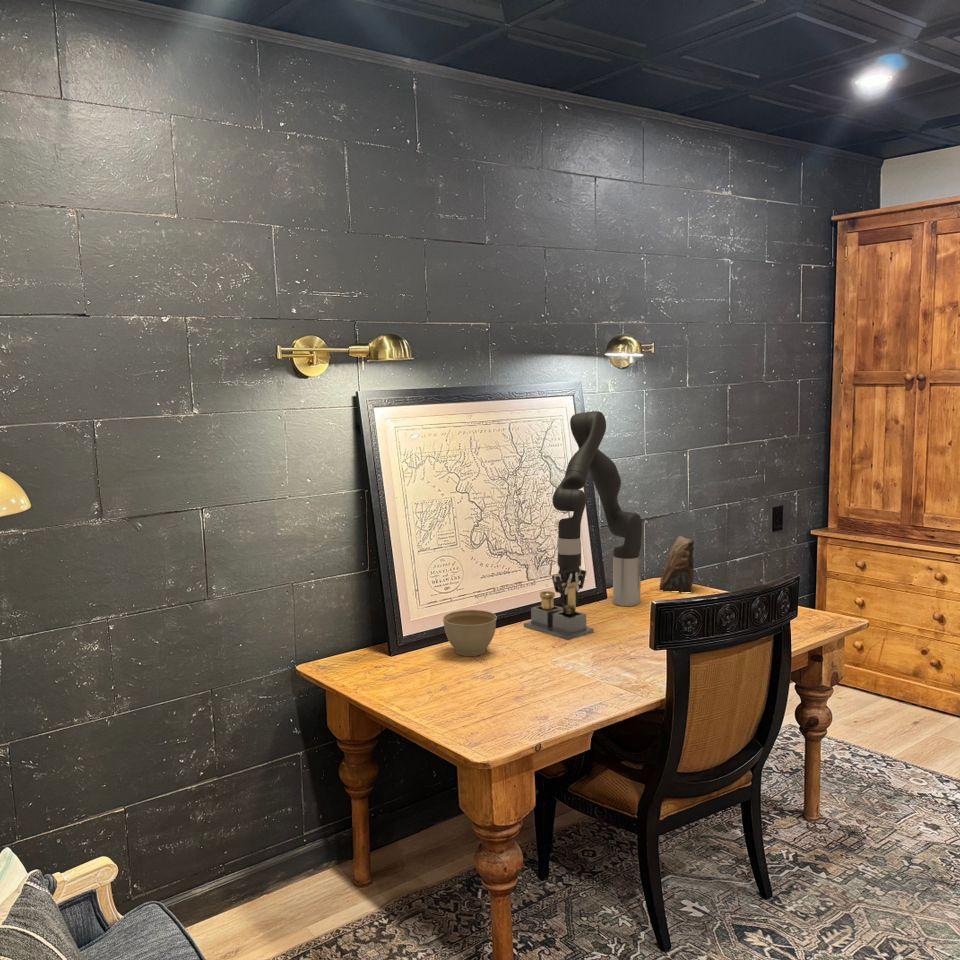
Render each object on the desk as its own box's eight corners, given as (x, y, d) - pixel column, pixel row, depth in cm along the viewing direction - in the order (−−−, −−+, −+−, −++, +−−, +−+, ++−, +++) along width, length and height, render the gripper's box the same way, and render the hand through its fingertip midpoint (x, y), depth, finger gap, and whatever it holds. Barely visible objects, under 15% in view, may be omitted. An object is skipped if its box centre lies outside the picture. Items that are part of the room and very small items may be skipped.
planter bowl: (438, 646, 280) (437, 612, 278) (488, 641, 284) (488, 607, 282) (450, 662, 264) (449, 626, 263) (503, 657, 268) (503, 621, 267)
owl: (674, 584, 354) (675, 533, 351) (704, 589, 345) (705, 537, 343) (657, 590, 345) (658, 538, 342) (687, 596, 336) (688, 542, 334)
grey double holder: (549, 619, 307) (549, 587, 306) (593, 632, 292) (593, 598, 291) (523, 626, 299) (523, 593, 298) (568, 639, 284) (568, 605, 283)
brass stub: (569, 609, 295) (569, 579, 293) (579, 612, 291) (580, 581, 290) (558, 611, 292) (558, 581, 290) (569, 614, 288) (569, 584, 287)
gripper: (576, 546, 296) (575, 597, 298) (545, 552, 287) (545, 605, 289) (593, 550, 291) (592, 602, 293) (562, 556, 281) (562, 610, 284)
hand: (569, 603), depth 291 cm, fingers closed on brass stub, 4 cm apart
